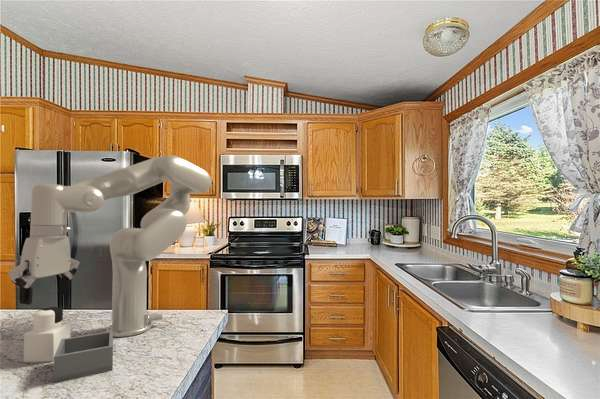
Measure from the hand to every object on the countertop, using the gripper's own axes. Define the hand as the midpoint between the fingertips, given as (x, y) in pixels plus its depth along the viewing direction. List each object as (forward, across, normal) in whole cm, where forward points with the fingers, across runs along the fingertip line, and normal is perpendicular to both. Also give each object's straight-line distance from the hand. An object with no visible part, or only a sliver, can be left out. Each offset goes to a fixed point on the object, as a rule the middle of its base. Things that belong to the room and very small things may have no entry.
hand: (46, 298), depth 85 cm
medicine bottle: (+15, -1, 0) cm, 15 cm away
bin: (+15, 0, +14) cm, 21 cm away
